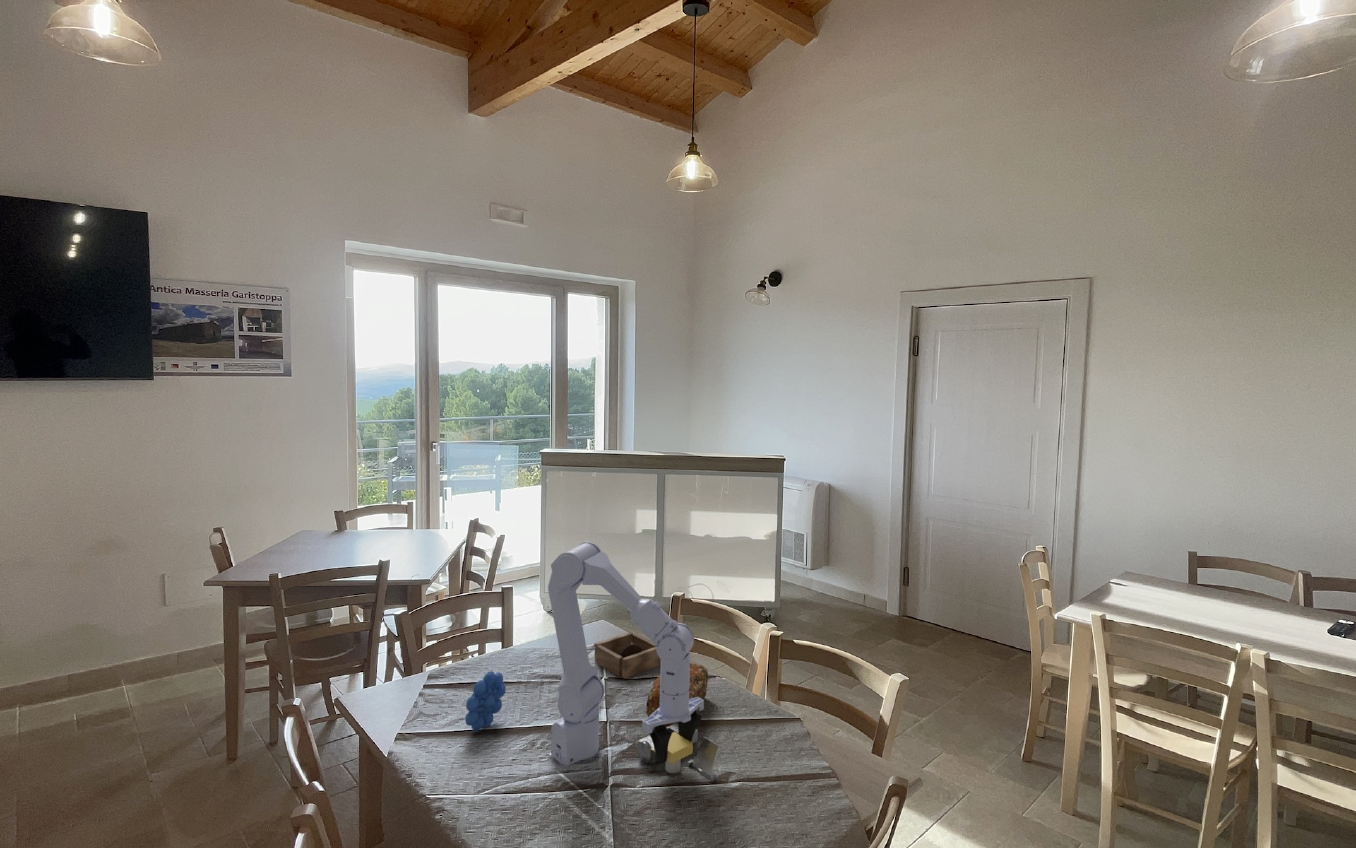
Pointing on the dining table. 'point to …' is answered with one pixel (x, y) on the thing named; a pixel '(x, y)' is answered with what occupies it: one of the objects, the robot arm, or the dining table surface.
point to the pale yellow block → (677, 752)
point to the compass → (630, 650)
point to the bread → (695, 689)
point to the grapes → (485, 701)
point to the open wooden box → (628, 666)
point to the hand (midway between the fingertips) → (672, 754)
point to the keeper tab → (706, 757)
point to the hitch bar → (649, 755)
